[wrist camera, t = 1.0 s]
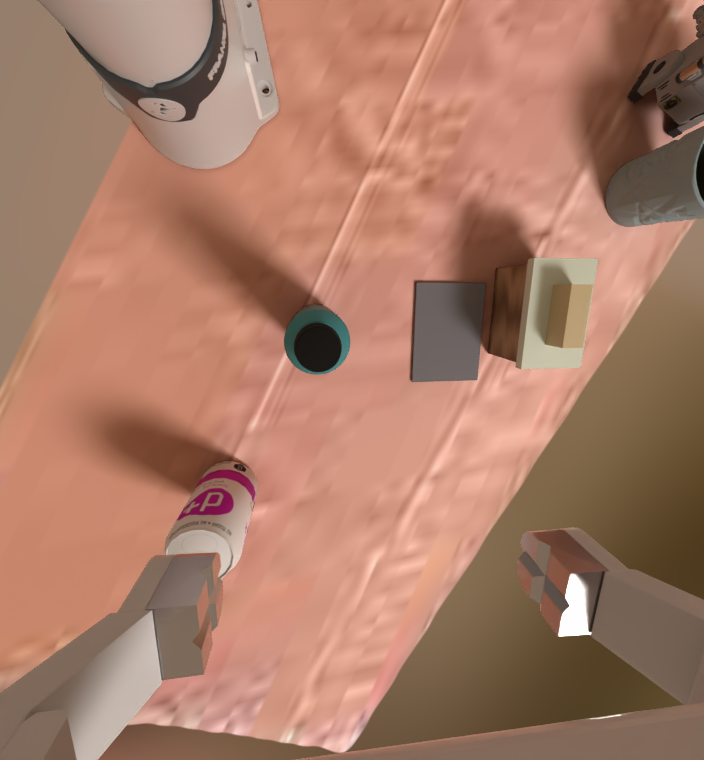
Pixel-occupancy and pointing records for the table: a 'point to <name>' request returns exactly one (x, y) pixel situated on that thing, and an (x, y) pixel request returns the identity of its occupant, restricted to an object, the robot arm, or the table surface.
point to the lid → (555, 312)
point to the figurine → (678, 82)
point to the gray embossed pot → (660, 184)
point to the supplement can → (216, 515)
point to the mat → (447, 331)
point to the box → (507, 311)
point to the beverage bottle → (316, 340)
